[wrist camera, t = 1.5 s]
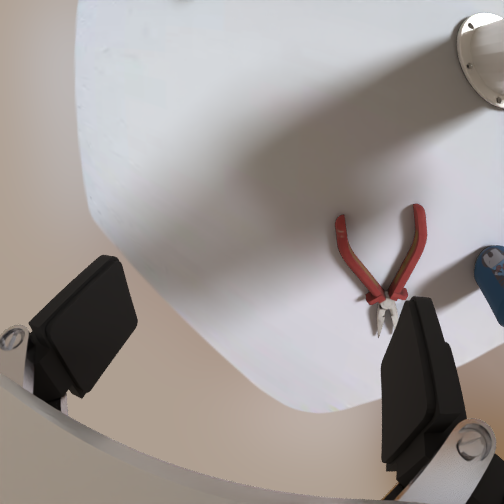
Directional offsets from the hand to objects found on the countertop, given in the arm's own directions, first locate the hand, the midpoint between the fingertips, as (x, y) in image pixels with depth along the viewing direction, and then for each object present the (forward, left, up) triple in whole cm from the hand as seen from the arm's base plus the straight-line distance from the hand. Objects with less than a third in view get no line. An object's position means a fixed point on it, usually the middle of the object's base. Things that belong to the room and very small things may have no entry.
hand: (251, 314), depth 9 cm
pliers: (-2, +19, -30) cm, 35 cm away
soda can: (-20, +23, -29) cm, 42 cm away
